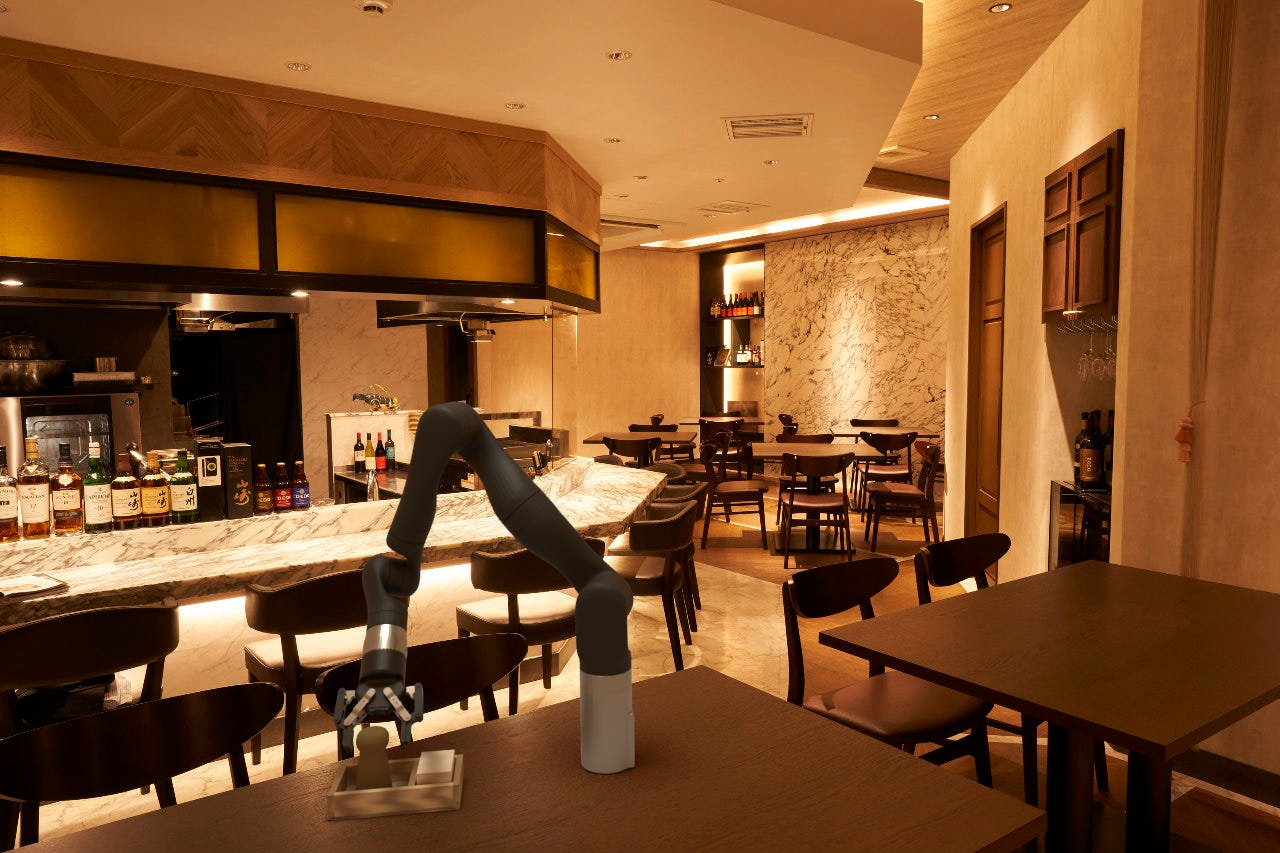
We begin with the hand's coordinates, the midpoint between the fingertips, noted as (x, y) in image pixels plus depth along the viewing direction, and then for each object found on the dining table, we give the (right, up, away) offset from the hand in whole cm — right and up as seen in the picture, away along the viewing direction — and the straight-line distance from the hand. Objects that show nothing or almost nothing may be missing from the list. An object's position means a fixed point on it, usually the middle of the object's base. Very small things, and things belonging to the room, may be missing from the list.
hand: (376, 749), depth 133 cm
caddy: (+3, -8, +1) cm, 9 cm away
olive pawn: (-1, -8, +1) cm, 8 cm away
